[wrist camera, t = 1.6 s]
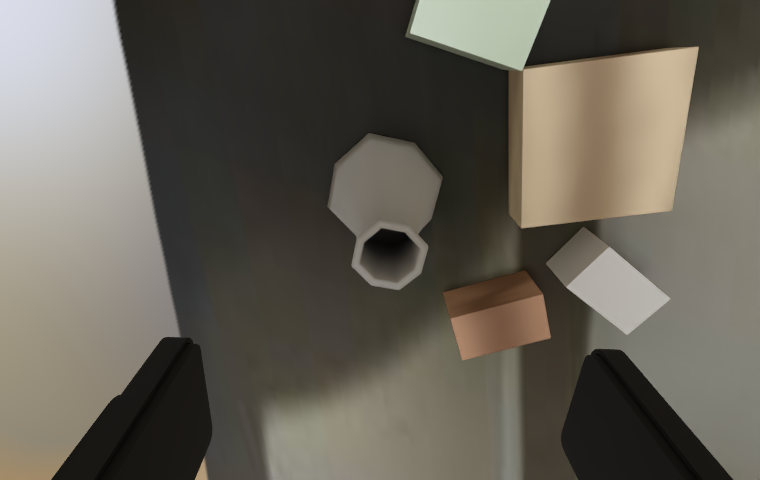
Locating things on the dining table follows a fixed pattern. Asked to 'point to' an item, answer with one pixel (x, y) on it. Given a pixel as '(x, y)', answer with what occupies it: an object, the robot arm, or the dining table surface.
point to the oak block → (597, 136)
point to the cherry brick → (497, 314)
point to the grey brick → (606, 281)
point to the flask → (385, 207)
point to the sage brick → (480, 28)
